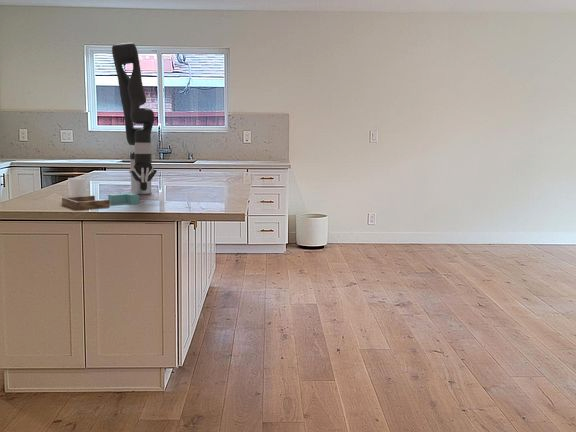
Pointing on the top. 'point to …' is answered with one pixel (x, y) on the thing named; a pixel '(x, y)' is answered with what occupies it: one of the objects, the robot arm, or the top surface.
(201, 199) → the top surface
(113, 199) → the teal T-block
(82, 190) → the white cup
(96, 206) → the walnut dock
